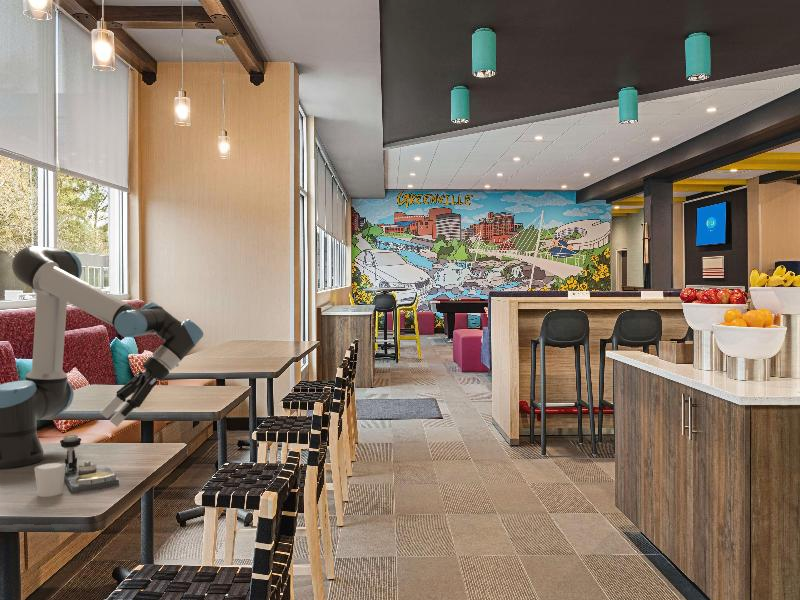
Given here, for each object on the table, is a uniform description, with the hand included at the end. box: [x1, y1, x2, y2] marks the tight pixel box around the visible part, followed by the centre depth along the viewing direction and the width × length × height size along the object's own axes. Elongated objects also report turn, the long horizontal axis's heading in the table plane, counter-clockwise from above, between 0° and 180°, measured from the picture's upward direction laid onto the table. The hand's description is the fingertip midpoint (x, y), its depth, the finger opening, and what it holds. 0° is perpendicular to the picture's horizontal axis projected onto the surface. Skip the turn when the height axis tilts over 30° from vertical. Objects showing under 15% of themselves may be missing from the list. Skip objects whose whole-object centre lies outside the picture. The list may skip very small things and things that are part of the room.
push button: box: [59, 434, 82, 473], centre depth 179 cm, size 7×5×10 cm
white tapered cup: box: [33, 462, 66, 498], centre depth 161 cm, size 7×7×7 cm
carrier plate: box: [64, 461, 120, 494], centre depth 170 cm, size 15×11×4 cm
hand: (108, 419), depth 184 cm, fingers open, 13 cm apart
